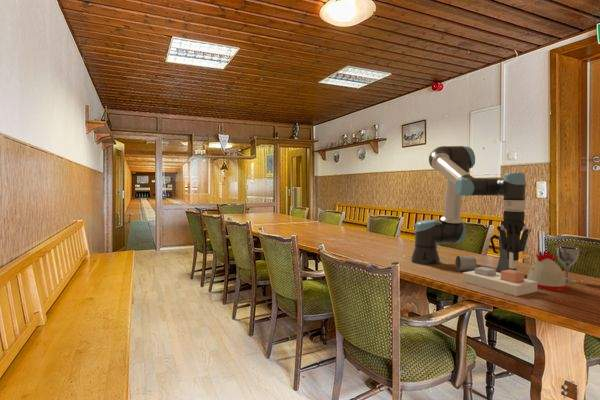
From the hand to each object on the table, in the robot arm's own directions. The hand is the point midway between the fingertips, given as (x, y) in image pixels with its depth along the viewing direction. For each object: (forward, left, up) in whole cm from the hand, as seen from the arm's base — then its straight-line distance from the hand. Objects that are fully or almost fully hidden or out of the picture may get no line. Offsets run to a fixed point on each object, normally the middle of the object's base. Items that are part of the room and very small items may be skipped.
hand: (512, 267), depth 145 cm
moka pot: (-19, +26, -9) cm, 34 cm away
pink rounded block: (0, 0, -5) cm, 5 cm away
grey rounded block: (-12, 0, -6) cm, 14 cm away
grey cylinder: (-32, +13, -10) cm, 36 cm away
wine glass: (+3, +36, -9) cm, 37 cm away
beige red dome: (+3, +19, -10) cm, 21 cm away
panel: (-6, 0, -9) cm, 11 cm away
